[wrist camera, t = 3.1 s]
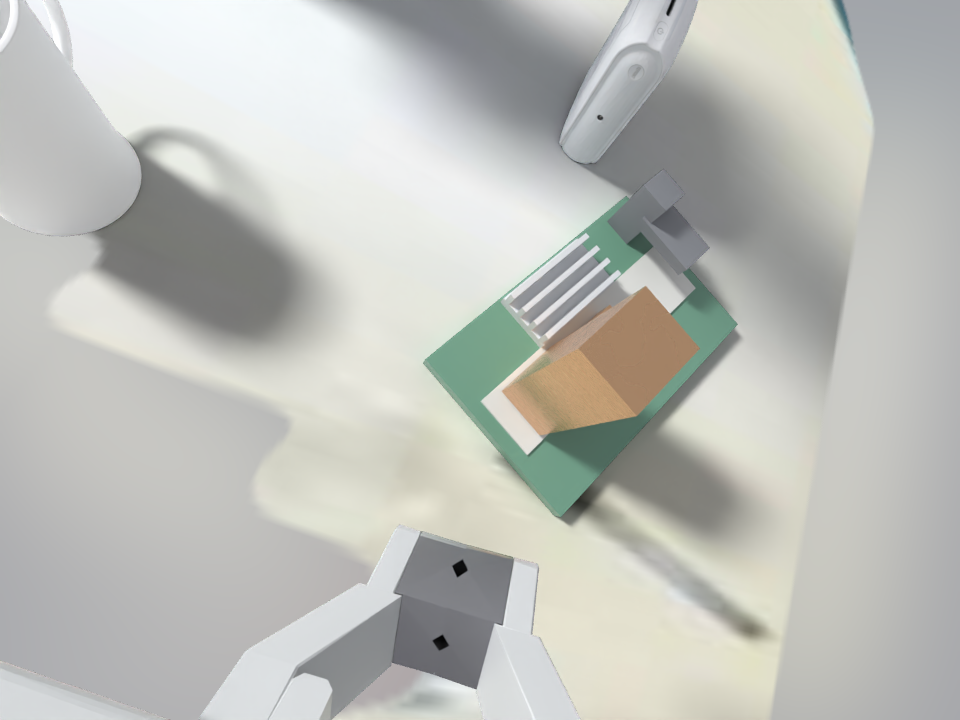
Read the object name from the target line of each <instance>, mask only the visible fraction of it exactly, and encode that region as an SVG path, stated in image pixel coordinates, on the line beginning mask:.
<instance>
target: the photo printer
mask: <svg viewBox="0 0 960 720" xmlns="http://www.w3.org/2000/svg"><path fill="white" fill-rule="evenodd" d="M697 3H698V0H630V1H629V3H628V4H627V6H626V8H625V10H624V11H623V13H622V15H621V16H620V18H619V20H618V22H617V23H616V25H615V27H614V28H613V30H612V32H611V34H610V35H609V37H608V39H607V40H606V42H605V44H604V45H603V47H602V49H601V50H600V52H599V54H598V56H597V57H596V59H595V61H594V62H593V64H592V66H591V67H590V68H589V71H588V73H587V75H586V77H585V79H584V81H583V83H582V85H581V87H580V89H579V91H578V94H577V96H576V98H575V100H574V103H573V105H572V107H571V110H570V112H569V114H568V117H567V119H566V122H565V125H564V127H563V130H562V133H561V136H560V142H559V144H560V145H561V146H562V149H563V151H564V152H565V153H566V155H567V156H569V157H570V158H571V159H573V160H574V161H576V162H579V163H583V164H588V163H590V162H591V163H596V162H597V161H598V160H599V159H600V158H601V157H602V155H603V154H604V153H605V152H606V150H607V149H608V148H609V147H610V145H611V144H612V143H613V142H614V140H615V139H616V138H617V137H618V136H619V134H620V133H621V132H622V130H623V129H624V128H625V127H626V125H627V124H628V123H629V122H630V120H631V119H632V118H633V117H634V115H635V114H636V113H637V112H638V110H639V109H640V108H641V106H642V105H643V104H644V103H645V101H646V100H647V99H648V98H649V96H650V95H651V94H652V92H653V91H654V90H655V89H656V87H657V86H658V85H659V83H660V82H661V81H662V80H663V78H664V77H665V75H666V74H667V73H668V71H669V69H670V68H671V66H672V64H673V62H674V60H675V59H676V56H677V54H678V52H679V50H680V48H681V46H682V44H683V41H684V39H685V37H686V34H687V32H688V29H689V27H690V24H691V21H692V19H693V16H694V13H695V10H696V6H697Z"/></svg>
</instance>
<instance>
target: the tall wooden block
mask: <svg viewBox="0 0 960 720" xmlns="http://www.w3.org/2000/svg"><path fill="white" fill-rule="evenodd" d="M699 349H700V348H699V347H698V345H697V344H696V343H695V342H694V341H693V340H692V339H691V337H690V336H689V335H688V334H687V333H686V332H685V330H684V329H683V328H682V327H681V326H680V325H679V323H678V322H677V321H676V320H675V319H674V318H673V317H672V315H671V314H670V313H669V312H668V311H667V310H666V308H665V307H664V306H663V305H662V304H661V303H660V301H659V300H658V299H657V298H656V297H655V296H654V295H653V293H652V292H651V291H650V290H649V289H648V288H647V286H645V287H643V288H641V289H640V290H638V291H637V292H635V293H634V294H632V295H630V296H629V297H627V298H626V299H624V300H623V301H621V302H620V303H618V304H616V305H615V306H613V307H611V305H609V306H607V307H606V308H604V309H603V310H601V311H599V312H598V313H597V314H596V315H595V316H594V317H593V318H592V319H591V320H590V321H588V322H587V323H586V324H585V325H584V326H582V327H581V328H579V329H577V330H576V331H574V332H573V333H571V334H570V335H568V336H567V337H565V338H563V339H562V340H560V341H559V342H557V343H556V344H554V345H552V346H551V347H550V348H549V349H547V350H546V351H545V352H544V353H543V354H542V355H541V356H540V357H539V358H537V359H536V360H535V361H534V362H533V363H532V364H531V365H530V366H529V367H528V368H526V369H525V370H524V371H523V372H522V373H521V374H520V375H519V376H518V377H516V378H515V379H514V380H513V381H512V382H511V383H510V384H509V385H508V386H506V387H505V388H504V389H503V390H502V392H503V393H504V395H505V396H506V397H507V398H508V399H509V400H510V402H511V403H512V404H513V405H514V406H515V407H516V409H517V410H518V411H519V412H520V413H521V414H522V416H523V417H524V418H525V419H526V420H527V421H528V423H529V424H530V425H531V426H532V427H533V428H534V430H535V431H536V432H537V433H538V434H539V435H545V434H550V433H555V432H560V431H565V430H570V429H575V428H580V427H585V426H590V425H595V424H600V423H605V422H610V421H615V420H620V419H625V418H630V417H635V416H637V415H638V414H639V413H640V412H641V411H642V410H643V409H644V408H645V407H646V406H647V405H648V404H649V403H650V402H651V400H652V399H653V398H654V397H655V396H656V395H657V394H658V393H659V392H660V391H661V390H662V389H663V388H664V387H665V386H666V384H667V383H668V382H669V381H670V380H671V379H672V378H673V377H674V376H675V375H676V374H677V373H678V372H679V371H680V369H681V368H682V367H683V366H684V365H685V364H686V363H687V362H688V361H689V360H690V359H691V358H692V357H693V356H694V355H695V353H696V352H697V351H698V350H699Z"/></svg>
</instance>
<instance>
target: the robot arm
mask: <svg viewBox="0 0 960 720" xmlns="http://www.w3.org/2000/svg"><path fill="white" fill-rule="evenodd" d="M538 572H539V567H538V564H536V563H533V562H529V561H525V560H522V559H518V558H514V559H513V557H510V556H507V555H503V554H499V553H496V552H492V551H488V550H485V549H481V548H477V547H474V546H470V545H465V544H462V543H459V542H456V541H453V540H449V539H446V538H443V537H440V536H437V535H433V534H430V533H427V532H424V531H419V530H415V529H412V528H409V527H406V526H403V525H399V526H398V527H397V528H396V529H395V530H394V532H393V534H392V536H391V538H390V540H389V542H388V544H387V546H386V548H385V550H384V552H383V554H382V556H381V558H380V560H379V562H378V564H377V566H376V568H375V570H374V572H373V573H372V575H371V577H370V580H369V581H368V583H367V585H365V584H361V583H359V584H357V585H356V586H354V587H352V588H350V589H349V590H347V591H345V592H344V593H342V594H340V595H339V596H337V597H335V598H334V599H332V600H330V601H329V602H327V603H325V604H323V605H322V606H320V607H318V608H317V609H315V610H313V611H312V612H310V613H308V614H307V615H305V616H303V617H302V618H300V619H298V620H296V621H295V622H293V623H292V624H290V625H288V626H286V627H285V628H283V629H281V630H280V631H278V632H277V633H274V634H273V635H271V636H269V637H268V638H266V639H264V640H263V641H261V642H259V643H258V644H256V645H254V646H253V647H251V648H249V649H247V650H246V651H245V653H244V654H243V655H242V657H241V658H240V660H239V661H238V663H237V664H236V666H235V667H234V669H233V670H232V671H231V673H230V674H229V676H228V677H227V679H226V680H225V681H224V683H223V684H222V686H221V687H220V689H219V690H218V692H217V693H216V694H215V696H214V697H213V699H212V700H211V702H210V703H209V704H208V706H207V707H206V709H205V710H204V712H203V713H202V715H201V716H200V717H199V719H198V720H332V719H333V718H334V717H335V716H336V715H337V714H338V713H339V712H340V711H341V710H343V709H344V708H345V707H346V706H347V705H348V704H349V703H350V702H351V701H353V699H355V698H356V697H357V696H358V695H359V694H360V693H361V692H362V691H364V689H366V688H367V687H368V686H369V685H370V684H371V683H372V682H373V681H375V680H376V679H377V678H378V677H379V676H380V675H381V674H382V673H383V672H385V670H387V669H388V668H389V667H390V666H391V663H395V664H399V665H402V666H405V667H409V668H413V669H416V670H420V671H423V672H427V673H430V674H434V673H435V674H434V675H437V676H439V677H442V678H445V679H448V680H451V681H454V682H457V683H459V684H462V685H465V686H468V687H471V688H474V689H477V690H476V694H477V697H478V701H479V704H480V708H481V712H482V715H483V719H484V720H581V719H580V717H579V715H578V713H577V711H576V709H575V707H574V705H573V703H572V701H571V699H570V697H569V695H568V693H567V691H566V689H565V687H564V685H563V683H562V681H561V679H560V677H559V675H558V673H557V671H556V669H555V667H554V665H553V663H552V661H551V659H550V657H549V655H548V653H547V651H546V649H545V647H544V645H543V643H542V641H541V639H540V637H537V636H534V635H532V631H533V621H534V612H535V602H536V592H537V582H538ZM0 720H170V719H167V718H164V717H161V716H158V715H155V714H152V713H149V712H147V711H144V710H141V709H138V708H135V707H132V706H129V705H126V704H124V703H121V702H118V701H115V700H112V699H109V698H106V697H104V696H100V695H98V694H95V693H92V692H89V691H86V690H83V689H81V688H78V687H75V686H72V685H69V684H66V683H63V682H60V681H57V680H55V679H52V678H49V677H46V676H43V675H40V674H38V673H35V672H32V671H29V670H26V669H23V668H20V667H18V666H15V665H12V664H9V663H6V662H3V661H0Z"/></svg>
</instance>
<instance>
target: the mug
mask: <svg viewBox="0 0 960 720" xmlns="http://www.w3.org/2000/svg"><path fill="white" fill-rule="evenodd" d="M42 1H43V3H44V5H45V7H46V10H47V13H48V16H49V19H50V22H51V26H52V31H53V37H54V41H53V40H52V38H51V37H50V35H49V34H48V33H47V31H46V30H45V28H44V27H43V25H42V24H41V23H40V21H39V20H38V18H37V17H36V15H35V14H34V13H33V11H32V10H31V8H30V7H29V5H28V4H27V2H26V1H25V0H0V216H1V217H3V218H4V219H6V220H7V221H8V222H10V223H12V224H14V225H16V226H18V227H20V228H22V229H24V230H27V231H30V232H34V233H38V234H43V235H49V236H74V235H81V234H85V233H89V232H93V231H96V230H98V229H101V228H103V227H105V226H107V225H109V224H111V223H112V222H114V221H115V220H117V219H118V218H120V217H121V216H122V215H123V214H124V213H125V212H126V211H127V210H128V209H129V208H130V207H131V205H132V204H133V202H134V201H135V199H136V197H137V195H138V192H139V189H140V186H141V178H142V174H141V166H140V162H139V159H138V157H137V154H136V152H135V151H134V149H133V147H132V146H131V145H130V143H129V142H128V141H127V140H126V139H125V138H124V137H123V136H122V135H121V134H120V133H119V132H118V131H116V130H115V128H114V127H113V126H112V124H111V123H110V121H109V120H108V119H107V117H106V116H105V114H104V113H103V111H102V110H101V109H100V107H99V106H98V104H97V103H96V101H95V100H94V99H93V97H92V96H91V94H90V93H89V91H88V90H87V88H86V87H85V86H84V84H83V83H82V81H81V80H80V78H79V77H78V76H77V74H76V73H75V71H74V70H73V54H72V44H71V38H70V33H69V29H68V25H67V22H66V18H65V15H64V13H63V10H62V8H61V5H60V3H59V1H58V0H42Z"/></svg>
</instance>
